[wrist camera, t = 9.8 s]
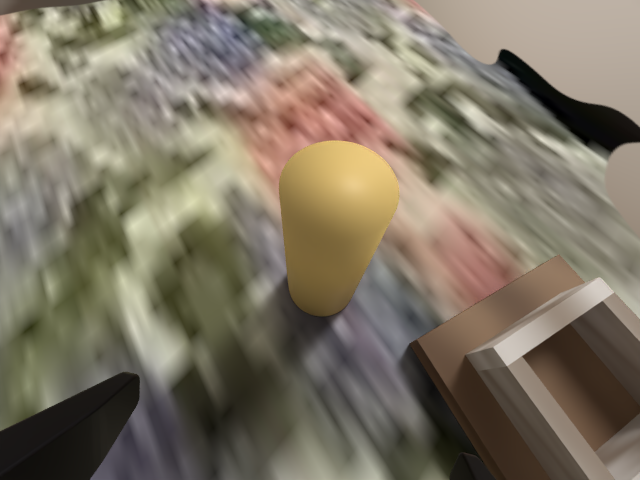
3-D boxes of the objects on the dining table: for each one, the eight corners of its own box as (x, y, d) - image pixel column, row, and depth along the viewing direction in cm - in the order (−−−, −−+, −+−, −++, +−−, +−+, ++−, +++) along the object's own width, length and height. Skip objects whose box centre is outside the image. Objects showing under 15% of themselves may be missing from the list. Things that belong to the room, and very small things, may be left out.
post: (339, 327, 20) (376, 260, 11) (277, 299, 21) (256, 210, 11) (363, 268, 22) (413, 164, 12) (305, 244, 23) (309, 126, 13)
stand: (550, 569, 16) (636, 627, 12) (409, 343, 20) (436, 329, 16) (694, 432, 19) (801, 441, 15) (544, 262, 23) (595, 234, 19)
